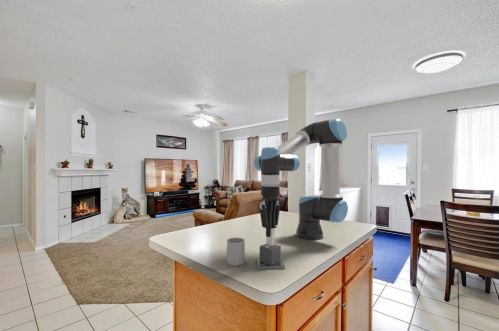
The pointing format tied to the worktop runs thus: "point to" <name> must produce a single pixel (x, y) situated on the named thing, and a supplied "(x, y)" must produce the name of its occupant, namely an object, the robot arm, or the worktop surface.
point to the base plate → (266, 266)
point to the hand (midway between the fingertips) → (270, 244)
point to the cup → (235, 251)
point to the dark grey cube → (270, 254)
